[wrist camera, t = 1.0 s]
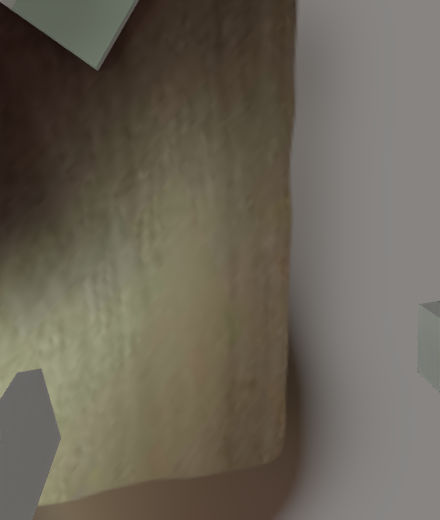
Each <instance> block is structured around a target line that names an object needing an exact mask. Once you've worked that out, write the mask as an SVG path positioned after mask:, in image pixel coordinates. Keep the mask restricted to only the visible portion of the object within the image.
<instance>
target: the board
mask: <svg viewBox="0 0 440 520" xmlns="http://www.w3.org/2000/svg"><path fill="white" fill-rule="evenodd" d="M138 1H139V0H0V2H1V3H2V4H4V5H5V6H6V7H8V8H9V9H11V10H12V11H13V12H15V13H16V14H18V15H19V16H21V17H22V18H23V19H25V20H26V21H28V22H29V23H30V24H32V25H33V26H35V27H36V28H38V29H39V30H40V31H42V32H43V33H45V34H46V35H47V36H49V37H50V38H52V39H53V40H55V41H56V42H57V43H59V44H60V45H62V46H63V47H64V48H66V49H67V50H69V51H70V52H72V53H73V54H74V55H76V56H77V57H79V58H80V59H82V60H83V61H84V62H86V63H87V64H89V65H90V66H91V67H93V68H94V69H96V70H97V71H99V69H100V67H101V65H102V64H103V62H104V60H105V58H106V57H107V55H108V53H109V52H110V50H111V48H112V46H113V45H114V43H115V41H116V39H117V38H118V36H119V34H120V32H121V31H122V29H123V27H124V26H125V24H126V22H127V20H128V19H129V17H130V15H131V13H132V12H133V10H134V8H135V6H136V5H137V3H138Z"/></svg>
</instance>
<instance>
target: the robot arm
mask: <svg viewBox="0 0 440 520" xmlns="http://www.w3.org/2000/svg"><path fill="white" fill-rule="evenodd" d="M418 373H419V374H421V375H422V376H423V377H424V378H425V379H426V380H427V381H428V382H429V383H430V384H431V385H432V386H433V387H434V388H436V389H437V390H438V391H439V392H440V301H437V302H431V303H425V304H420V305H419V332H418ZM60 439H61V436H60V433H59V429H58V426H57V422H56V419H55V415H54V412H53V408H52V405H51V401H50V398H49V394H48V391H47V387H46V384H45V380H44V377H43V373H42V370H41V369H37V370H31V371H25V372H19V373H17V374H16V376H15V377H14V379H13V380H12V382H11V383H10V385H9V387H8V388H7V390H6V391H5V393H4V394H3V396H2V398H1V399H0V520H32V518H33V516H34V513H35V510H36V507H37V504H38V502H39V499H40V496H41V493H42V490H43V487H44V485H45V482H46V479H47V476H48V473H49V470H50V468H51V465H52V462H53V459H54V456H55V453H56V450H57V448H58V445H59V442H60Z"/></svg>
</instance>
